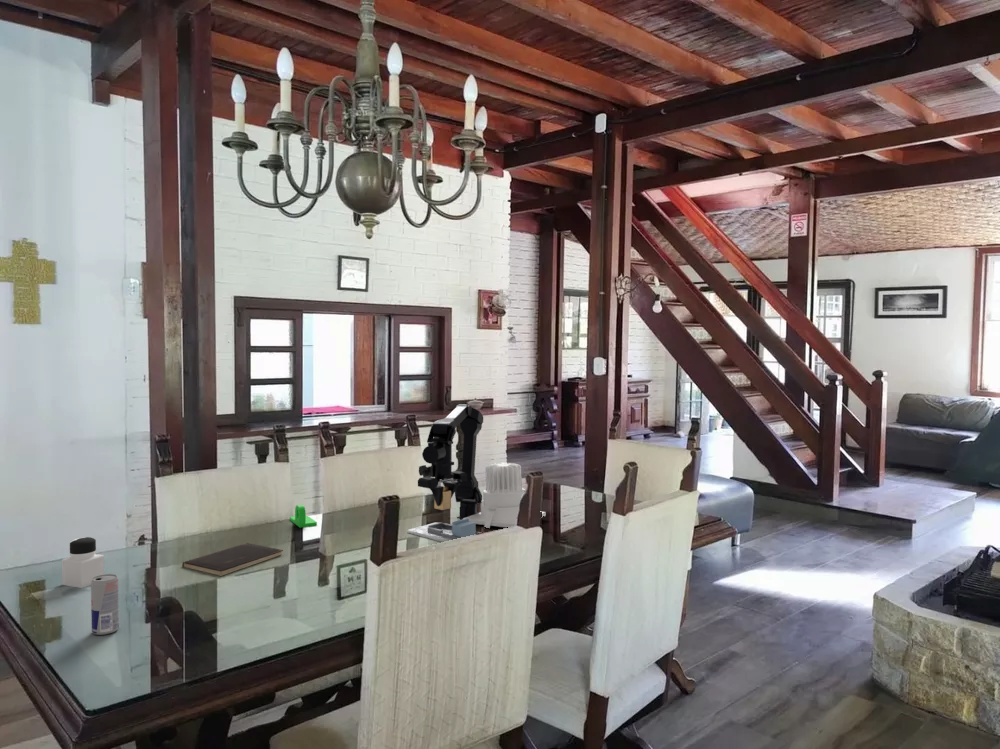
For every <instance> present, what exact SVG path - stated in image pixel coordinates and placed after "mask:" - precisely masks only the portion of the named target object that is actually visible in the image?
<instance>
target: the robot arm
mask: <svg viewBox="0 0 1000 749" xmlns="http://www.w3.org/2000/svg"><path fill="white" fill-rule="evenodd" d="M483 415H484V414H482V413H481V411H480V410H478V409H476V408H474V407H472V405H470V404H465V403H463V404H461V403H459V404H456V406H455V408H454V409H453V410H452V411H451V412H450V413H449V414H448V415H447V416H446V417H444V418H439V419H438V420H435V421H434V422H433V423H432V425H431V427H430V430H429V434H428V437H427V439H426V442H427V446H426V447H425V448H424V449H423V451H422V452H421V453H422V454H421V455H422V459H423V461H424V462H425V463H427V464H430V466H427V465H420V466H418V474H419V476H422V477H419V478H418V480H417V487H418V488H424V489H429V490H430V492H431V494H432V495H433V498H434V499H435V501H436V504H437V506H440V504H441V499H442V494H443V488H444V487H448V490H451V499H452V498H453V496H455V502H456V503H459V515H458V516H456V518H457V519H458V520H462V519H463V518H466V517H469V516H471V515H474V514H477V513H479V511H478V509H479V508H478V506H479V504H481V502H483V493H482V491H481V490H480V487H479V481H478V479H477V477H476V475H475V470H476V454H477V436H478V434H479V433H480V431H481V430H482V427H483V423H484V416H483ZM458 427H459V429H460V430H461V432H462V434H463V442H462V443H463V444H462V458H461V459H462V460H461V471H459V470H453V471H452V469H453V468H452V466H454V465H455V461H453V460H452V455H453V454H452V452H453V451H452V450H453V449H452V445H454V441H453V440H454V437H455V435H456V434H457V430H456V428H458ZM442 484H443V486H442Z"/></svg>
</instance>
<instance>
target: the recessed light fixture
mask: <svg viewBox="0 0 1000 749" xmlns="http://www.w3.org/2000/svg"><path fill="white" fill-rule="evenodd" d="M484 469H485V488H484V489H483V491H482V492H483V493H482V501H481V503H480V512H478V513H477V514H474V515H471V516H469V517H466V518H468V519H469V521H470V522H475V523H476V525H483V528H484V527H486V528H489V529H490V528H491V527H499V528H507V527H511V526H514V525H515V520H516V516H517V512H518V507H519V502H520V499H521V495H522V494H523V492H524V490H525V491H526V489H525V488H523V478H522V465H520V464H518V463H513V462H507V461H505V462H503V461H500V463H498V462H496V463H492V464H491V463H490V464H488V465H486V466H485V468H484ZM541 512H542V517H541V518H543V516H544V517H546V514H547V513H546V511H541ZM466 518H463V519H466Z"/></svg>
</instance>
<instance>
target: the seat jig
mask: <svg viewBox="0 0 1000 749" xmlns="http://www.w3.org/2000/svg"><path fill="white" fill-rule="evenodd" d="M406 533H407V534H410V535H415V536H418V537H422V538H426V539H429V540H433V541H437V542H439V543H443V542H444V541H449V540H453V539H457V538H461V537H458V536H454V535H452V524H451V523H446V522H444V523H443V522H438V521H437V522H432V523H429V524H425V525H420V526H417V527H413V528H409V529H407V530H406ZM478 533H481V532H480V531H476V533H475V534H478Z"/></svg>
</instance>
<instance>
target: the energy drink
mask: <svg viewBox="0 0 1000 749" xmlns="http://www.w3.org/2000/svg"><path fill="white" fill-rule="evenodd" d="M119 595H120V594H119V578H118V575H117V574H113V573H107V574H105V573H104V575H99V576H96V577H94V578H92V582H91V585H90V598H91V599H90V601H91V602H90V603H91V604H90V606H91V611H90V612H91V615H90V616H91V632H92V633H93V635H95V636H97V635H98V636H99V635H100V636H103V635H110V634H112V633H115V632H116V631H118V629H120V617H119V616H120V614H119V613H120V610H119V608H120V605H119V602H120V601H119V600H120V598H119Z"/></svg>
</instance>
